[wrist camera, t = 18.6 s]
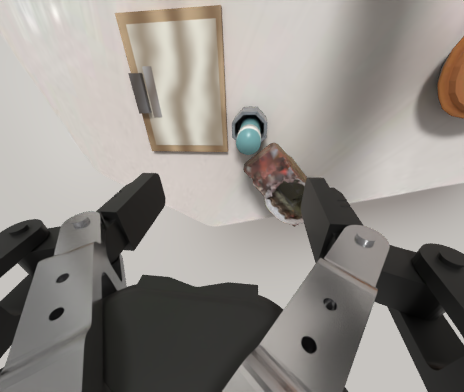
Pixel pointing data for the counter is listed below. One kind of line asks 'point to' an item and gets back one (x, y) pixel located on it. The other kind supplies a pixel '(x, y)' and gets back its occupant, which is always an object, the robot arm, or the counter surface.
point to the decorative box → (278, 182)
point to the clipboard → (178, 76)
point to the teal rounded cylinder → (249, 136)
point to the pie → (453, 82)
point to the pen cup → (245, 113)
